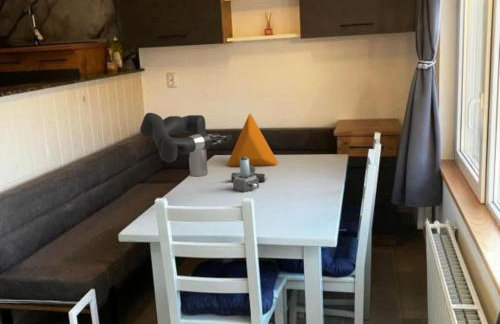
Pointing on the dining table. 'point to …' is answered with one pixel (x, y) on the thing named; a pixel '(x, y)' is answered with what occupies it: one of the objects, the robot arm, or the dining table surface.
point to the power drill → (252, 169)
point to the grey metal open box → (245, 183)
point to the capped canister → (244, 167)
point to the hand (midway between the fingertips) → (224, 136)
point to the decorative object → (252, 147)
